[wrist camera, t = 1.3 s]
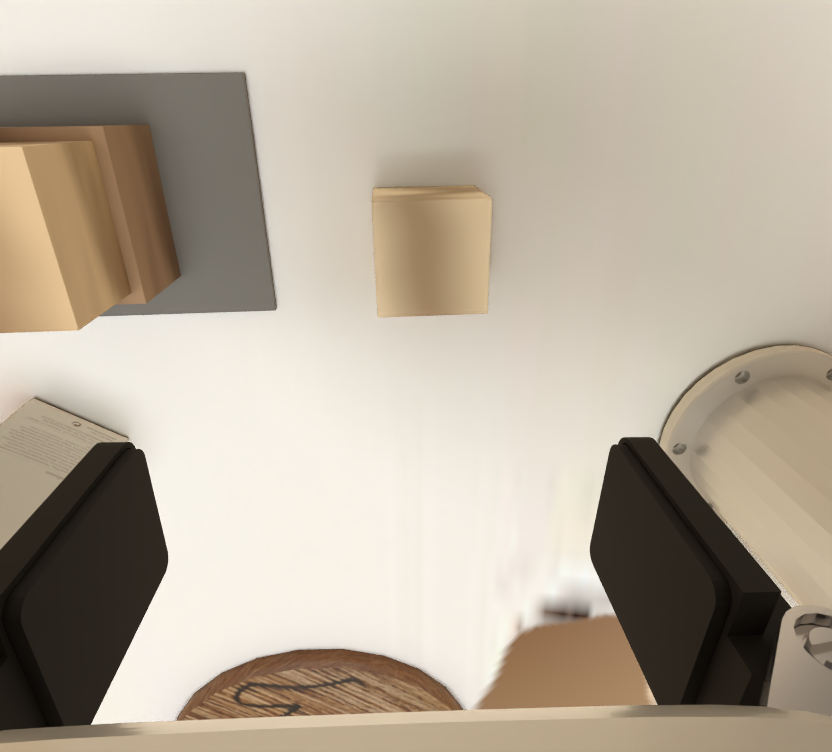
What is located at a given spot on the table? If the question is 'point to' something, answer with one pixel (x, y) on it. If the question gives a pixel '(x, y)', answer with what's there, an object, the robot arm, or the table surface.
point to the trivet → (318, 687)
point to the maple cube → (431, 250)
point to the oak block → (56, 238)
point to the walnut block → (125, 199)
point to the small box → (39, 458)
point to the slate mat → (176, 173)
